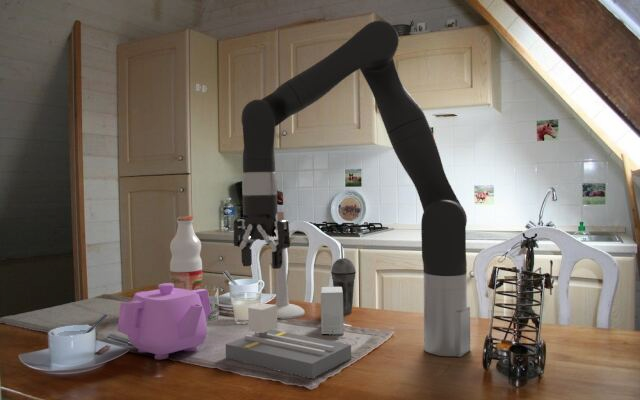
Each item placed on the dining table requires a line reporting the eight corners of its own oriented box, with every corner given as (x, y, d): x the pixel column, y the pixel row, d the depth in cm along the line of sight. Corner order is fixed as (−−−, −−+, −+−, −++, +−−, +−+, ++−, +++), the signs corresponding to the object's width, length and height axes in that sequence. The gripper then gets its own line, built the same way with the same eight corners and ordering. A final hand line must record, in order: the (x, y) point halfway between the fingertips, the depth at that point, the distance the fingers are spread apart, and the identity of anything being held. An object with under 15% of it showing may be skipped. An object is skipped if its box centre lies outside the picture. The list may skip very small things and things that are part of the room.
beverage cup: (360, 310, 155) (359, 242, 154) (351, 316, 148) (350, 245, 148) (337, 308, 158) (336, 241, 157) (327, 313, 151) (326, 244, 151)
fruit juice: (172, 306, 163) (170, 216, 162) (203, 305, 165) (201, 215, 164) (169, 314, 154) (167, 217, 153) (202, 312, 156) (201, 217, 155)
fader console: (351, 358, 112) (351, 341, 112) (312, 379, 100) (312, 359, 100) (268, 341, 125) (268, 325, 125) (225, 358, 113) (225, 340, 113)
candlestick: (313, 311, 154) (311, 209, 153) (287, 321, 143) (285, 211, 142) (277, 306, 161) (276, 208, 160) (250, 315, 150) (248, 210, 149)
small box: (343, 335, 130) (343, 292, 129) (321, 335, 130) (320, 292, 129) (343, 326, 138) (342, 286, 137) (321, 326, 138) (320, 286, 137)
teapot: (202, 362, 111) (201, 290, 111) (113, 365, 110) (112, 293, 109) (213, 336, 130) (212, 275, 130) (137, 339, 129) (136, 277, 128)
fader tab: (277, 336, 117) (276, 305, 117) (262, 342, 113) (261, 309, 113) (263, 333, 120) (263, 303, 119) (248, 339, 116) (248, 307, 115)
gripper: (296, 192, 114) (297, 267, 115) (247, 193, 123) (249, 263, 123) (273, 193, 108) (275, 272, 109) (224, 194, 116) (226, 267, 117)
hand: (261, 267), depth 116 cm, fingers open, 8 cm apart
